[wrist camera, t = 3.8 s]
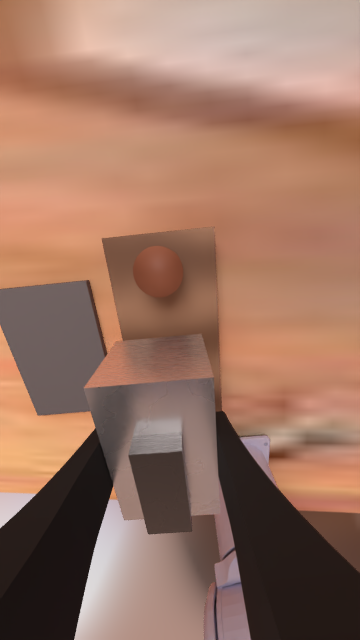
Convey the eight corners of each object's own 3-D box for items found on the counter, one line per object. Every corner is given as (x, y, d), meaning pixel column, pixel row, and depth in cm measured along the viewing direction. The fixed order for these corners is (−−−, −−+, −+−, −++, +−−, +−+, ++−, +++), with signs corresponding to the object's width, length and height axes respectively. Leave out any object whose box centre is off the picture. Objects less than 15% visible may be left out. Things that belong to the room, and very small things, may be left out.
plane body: (216, 403, 22) (229, 455, 17) (146, 409, 22) (135, 462, 17) (208, 231, 17) (224, 219, 11) (114, 241, 17) (81, 234, 11)
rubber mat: (119, 404, 22) (117, 408, 22) (41, 411, 22) (37, 415, 22) (88, 280, 18) (85, 281, 17) (-8, 290, 18) (-14, 291, 17)
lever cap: (208, 440, 14) (223, 535, 9) (139, 446, 14) (119, 542, 9) (201, 333, 11) (217, 391, 6) (116, 341, 11) (72, 404, 6)
